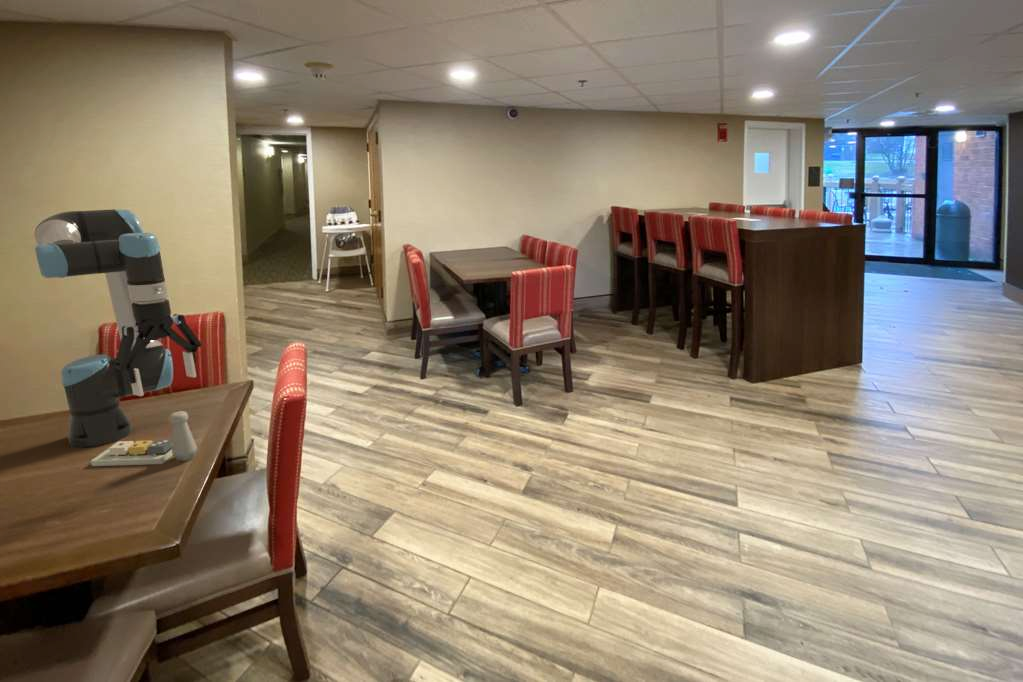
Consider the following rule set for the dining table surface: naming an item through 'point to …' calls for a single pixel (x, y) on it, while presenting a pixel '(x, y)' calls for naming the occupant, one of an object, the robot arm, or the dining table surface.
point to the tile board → (129, 459)
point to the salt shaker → (182, 437)
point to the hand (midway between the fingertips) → (166, 385)
